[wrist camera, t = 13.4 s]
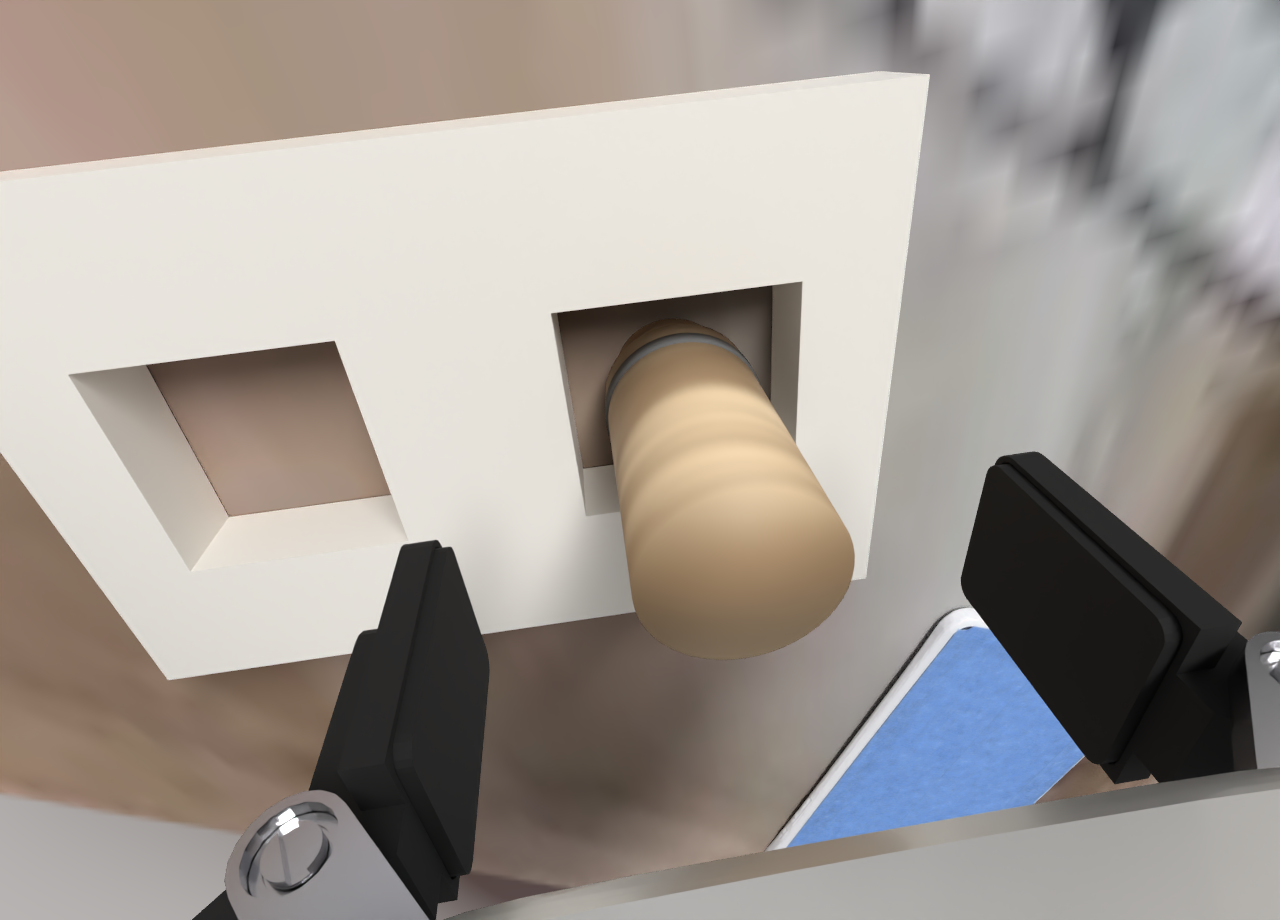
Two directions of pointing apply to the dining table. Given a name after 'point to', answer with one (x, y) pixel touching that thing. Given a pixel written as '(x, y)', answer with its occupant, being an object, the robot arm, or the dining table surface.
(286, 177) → the hole board
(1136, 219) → the dining table surface
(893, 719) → the tablet computer
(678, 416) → the oak peg
